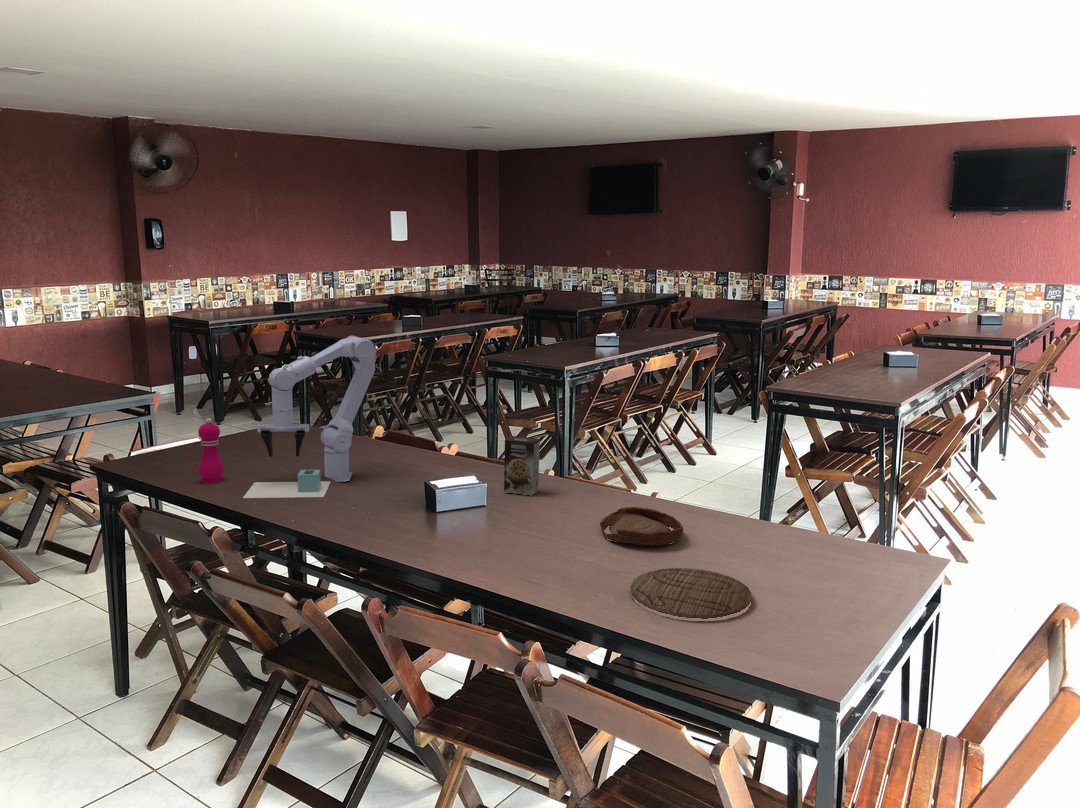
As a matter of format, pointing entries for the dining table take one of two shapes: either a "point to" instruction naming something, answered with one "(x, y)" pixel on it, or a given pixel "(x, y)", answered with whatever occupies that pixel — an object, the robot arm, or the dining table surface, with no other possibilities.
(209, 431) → the pepper mill
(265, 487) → the key plate
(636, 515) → the basket
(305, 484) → the teal square tube
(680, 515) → the dining table surface
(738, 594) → the trivet
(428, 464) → the dining table surface
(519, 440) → the brown cardboard box
